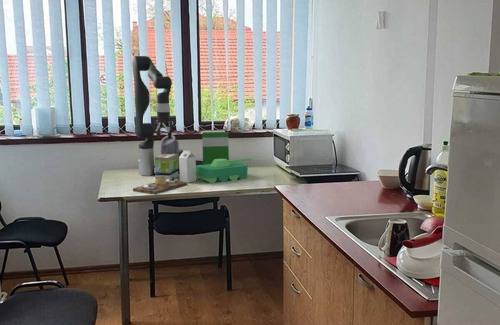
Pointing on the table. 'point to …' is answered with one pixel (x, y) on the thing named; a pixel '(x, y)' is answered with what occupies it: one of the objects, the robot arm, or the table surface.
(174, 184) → the gear board
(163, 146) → the grey watering can
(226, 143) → the hardback book
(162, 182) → the brass ring gear
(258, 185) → the table surface
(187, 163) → the milk carton
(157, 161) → the tea box
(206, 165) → the toy tank
